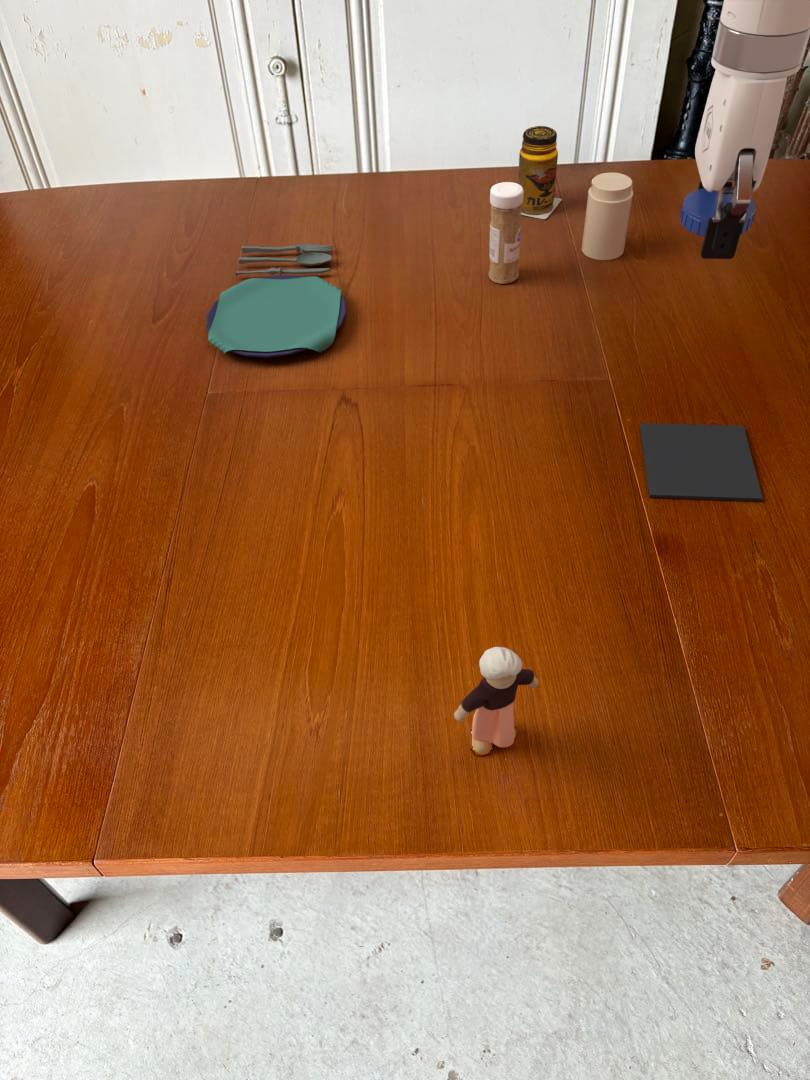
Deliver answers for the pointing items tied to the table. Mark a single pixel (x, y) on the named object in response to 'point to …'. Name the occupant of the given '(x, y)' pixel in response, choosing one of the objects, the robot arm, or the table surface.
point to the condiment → (538, 171)
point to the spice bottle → (505, 231)
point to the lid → (707, 211)
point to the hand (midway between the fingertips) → (712, 236)
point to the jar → (607, 216)
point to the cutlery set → (278, 307)
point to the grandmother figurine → (495, 699)
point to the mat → (699, 462)
